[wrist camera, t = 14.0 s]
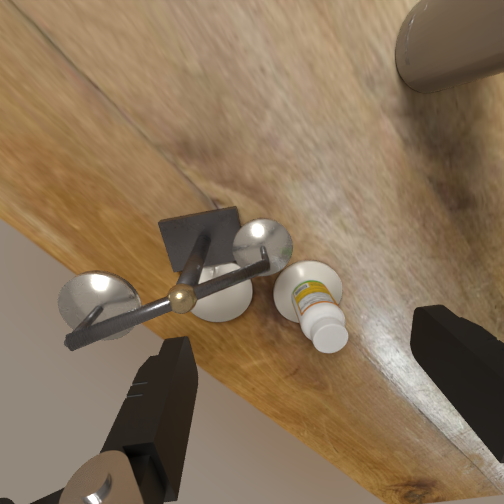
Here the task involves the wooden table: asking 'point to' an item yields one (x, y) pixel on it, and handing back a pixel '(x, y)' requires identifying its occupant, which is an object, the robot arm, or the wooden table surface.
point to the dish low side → (298, 274)
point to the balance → (182, 259)
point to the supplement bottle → (319, 316)
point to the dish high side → (223, 296)
